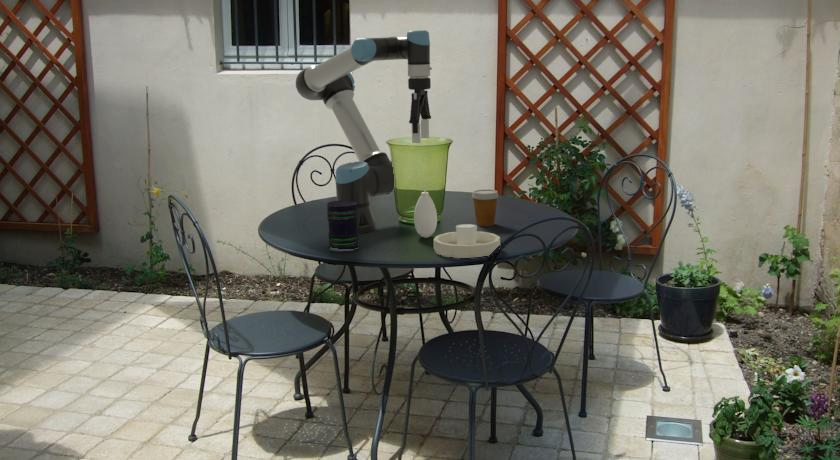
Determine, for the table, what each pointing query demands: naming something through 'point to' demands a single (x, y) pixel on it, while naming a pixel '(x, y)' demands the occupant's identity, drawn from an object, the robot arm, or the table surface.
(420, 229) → the sauce bottle
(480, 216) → the disposable coffee cup
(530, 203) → the table surface
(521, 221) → the table surface
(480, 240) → the cream bowl
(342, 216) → the storage jar
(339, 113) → the robot arm
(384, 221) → the table surface
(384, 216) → the table surface
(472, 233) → the shot glass
